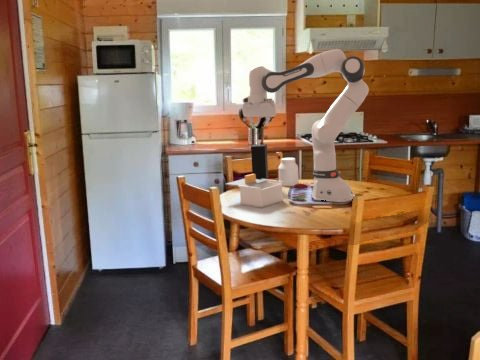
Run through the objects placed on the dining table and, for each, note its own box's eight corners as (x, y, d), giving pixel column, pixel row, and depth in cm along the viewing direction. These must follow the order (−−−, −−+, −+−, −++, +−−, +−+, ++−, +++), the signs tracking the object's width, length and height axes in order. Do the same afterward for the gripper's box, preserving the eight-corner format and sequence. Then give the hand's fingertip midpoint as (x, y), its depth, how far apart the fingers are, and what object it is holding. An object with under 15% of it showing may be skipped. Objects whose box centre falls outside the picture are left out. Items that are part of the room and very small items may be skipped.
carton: (284, 200, 241) (283, 181, 239) (260, 208, 228) (259, 188, 226) (262, 197, 251) (262, 178, 249) (239, 204, 238) (238, 185, 236)
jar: (291, 186, 272) (290, 160, 269) (276, 185, 278) (275, 159, 275) (300, 182, 281) (300, 157, 278) (286, 181, 287) (285, 156, 284)
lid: (266, 181, 246) (266, 172, 245) (245, 187, 234) (245, 178, 233) (246, 179, 255) (246, 170, 254) (225, 184, 244) (225, 175, 243)
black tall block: (266, 189, 268) (264, 140, 262) (253, 189, 269) (250, 140, 264) (268, 186, 275) (266, 138, 270) (255, 186, 277) (252, 138, 271)
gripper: (277, 98, 243) (278, 125, 246) (248, 98, 257) (249, 124, 260) (270, 98, 239) (271, 126, 242) (240, 99, 253) (241, 125, 256)
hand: (259, 125), depth 251 cm, fingers open, 8 cm apart
